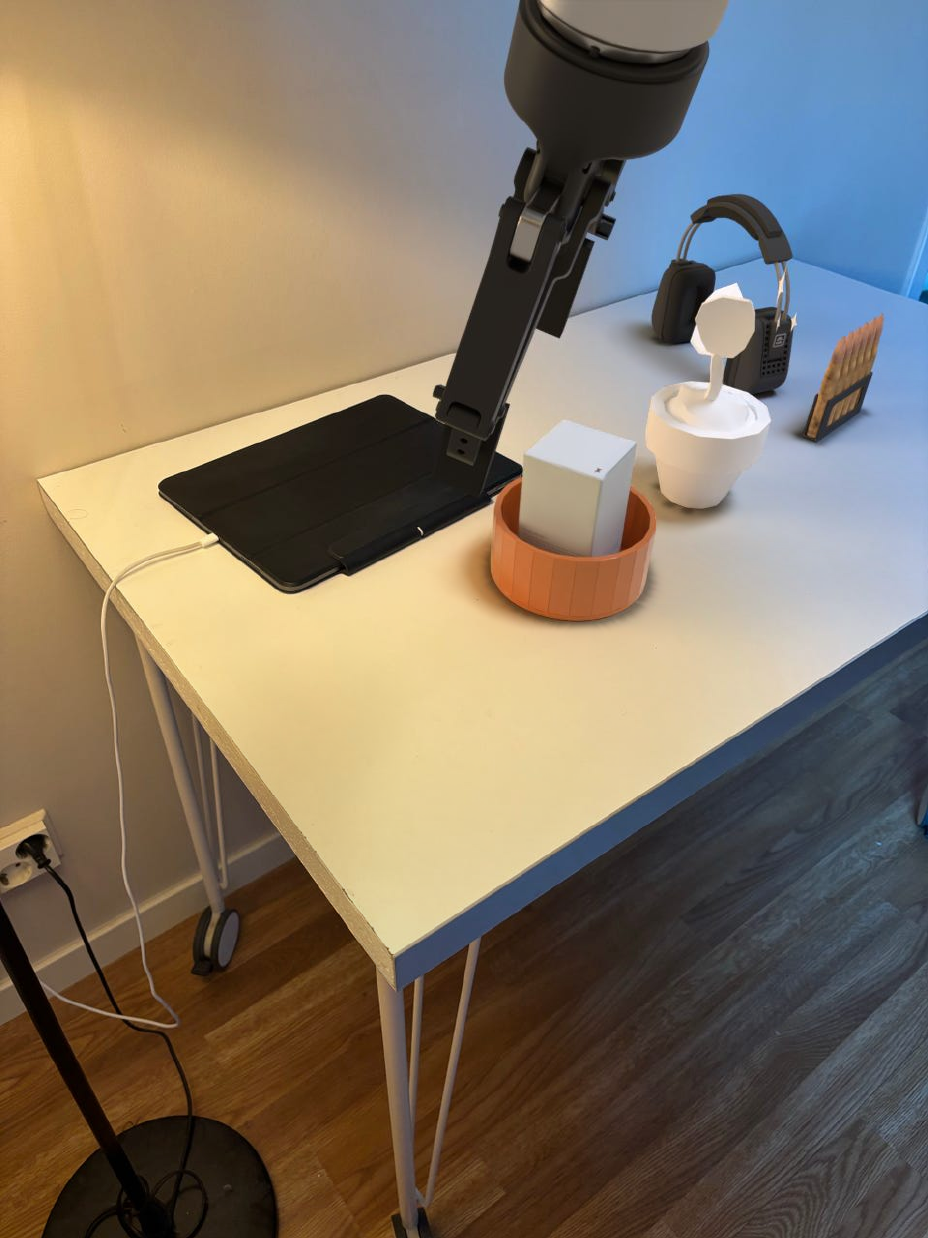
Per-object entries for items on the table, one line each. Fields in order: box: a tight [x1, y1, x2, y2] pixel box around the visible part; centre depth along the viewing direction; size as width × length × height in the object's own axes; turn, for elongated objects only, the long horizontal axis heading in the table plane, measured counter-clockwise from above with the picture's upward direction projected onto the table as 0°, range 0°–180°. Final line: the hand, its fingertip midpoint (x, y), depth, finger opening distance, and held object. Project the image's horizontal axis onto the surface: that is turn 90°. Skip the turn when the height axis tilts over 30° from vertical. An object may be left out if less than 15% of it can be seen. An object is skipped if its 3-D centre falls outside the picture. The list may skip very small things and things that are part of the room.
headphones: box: [651, 193, 794, 395], centre depth 115 cm, size 22×6×20 cm, turn 25°
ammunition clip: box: [801, 313, 885, 443], centre depth 107 cm, size 11×2×12 cm, turn 136°
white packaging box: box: [518, 418, 638, 557], centre depth 83 cm, size 7×7×13 cm
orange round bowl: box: [490, 476, 658, 622], centre depth 86 cm, size 14×14×6 cm
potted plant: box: [644, 264, 798, 510], centre depth 91 cm, size 13×12×25 cm
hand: (501, 400), depth 54 cm, fingers open, 13 cm apart
